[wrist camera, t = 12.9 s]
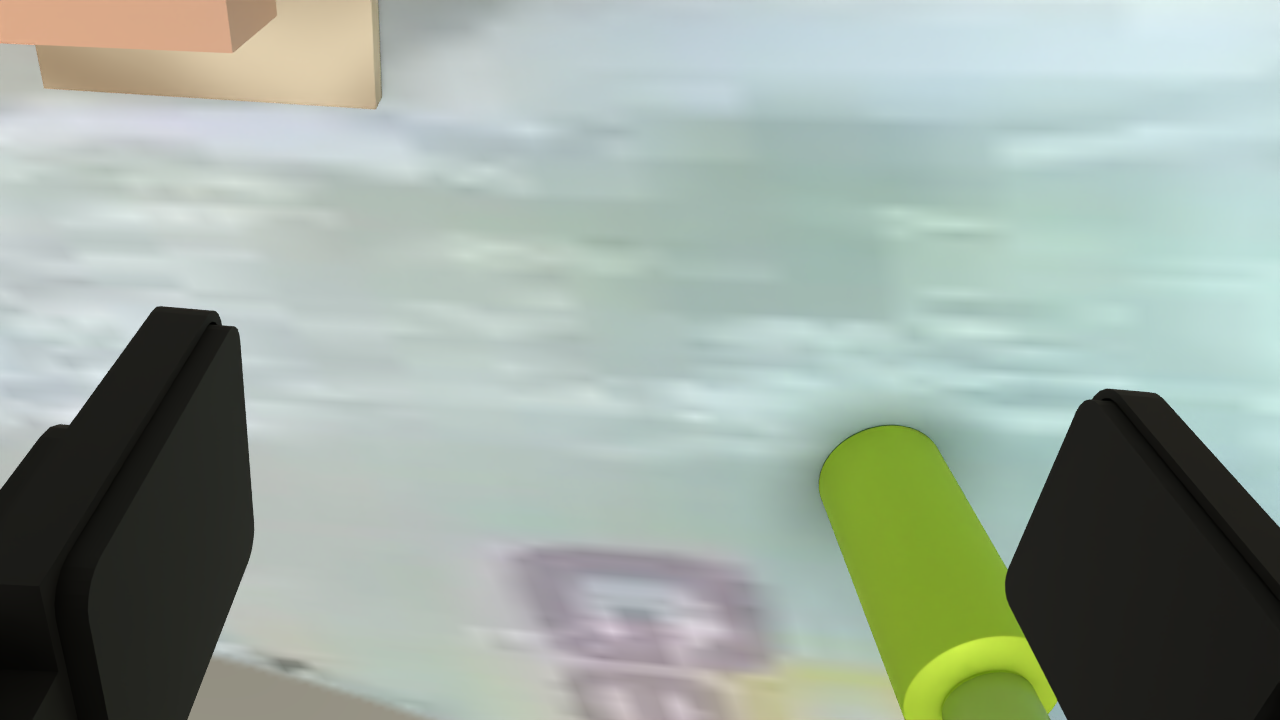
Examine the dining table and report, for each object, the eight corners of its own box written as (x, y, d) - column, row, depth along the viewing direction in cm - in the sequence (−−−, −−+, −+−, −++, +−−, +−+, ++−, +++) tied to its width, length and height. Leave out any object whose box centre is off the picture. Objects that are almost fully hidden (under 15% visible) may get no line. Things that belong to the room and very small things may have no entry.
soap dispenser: (829, 553, 50) (980, 967, 33) (810, 441, 46) (967, 839, 29) (947, 526, 50) (1161, 929, 32) (937, 412, 46) (1171, 796, 29)
